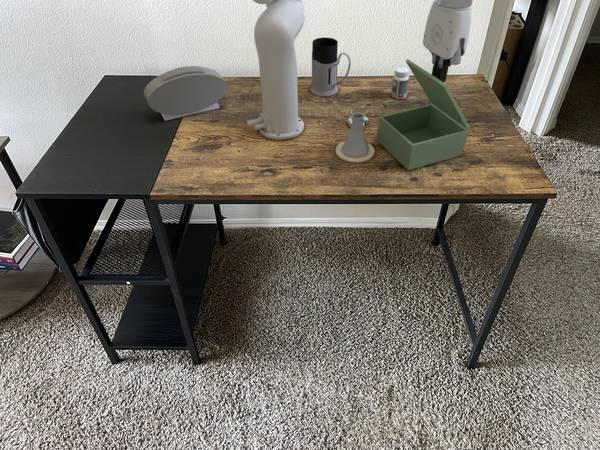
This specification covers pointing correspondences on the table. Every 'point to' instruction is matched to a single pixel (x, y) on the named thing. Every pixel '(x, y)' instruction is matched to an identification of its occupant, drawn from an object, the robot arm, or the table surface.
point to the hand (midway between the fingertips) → (437, 81)
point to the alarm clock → (185, 91)
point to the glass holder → (325, 66)
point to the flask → (356, 138)
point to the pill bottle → (400, 83)
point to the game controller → (351, 120)
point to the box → (421, 136)
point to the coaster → (351, 158)
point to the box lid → (438, 94)
